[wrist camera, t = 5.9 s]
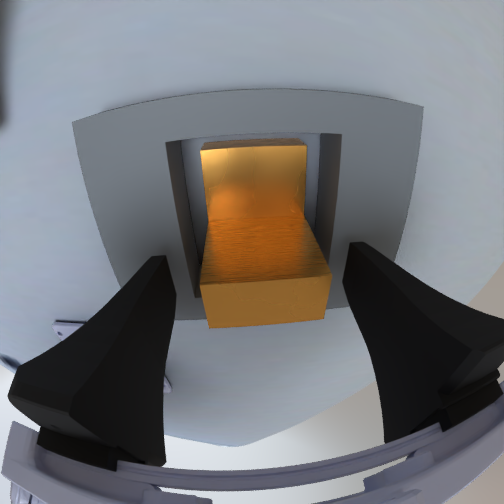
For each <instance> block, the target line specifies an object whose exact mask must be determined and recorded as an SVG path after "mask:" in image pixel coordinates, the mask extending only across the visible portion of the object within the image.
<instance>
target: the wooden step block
mask: <svg viewBox="0 0 504 504" xmlns="http://www.w3.org/2000/svg"><path fill="white" fill-rule="evenodd" d="M200 152H201V162H202V171H203V180H204V189H205V197H206V205H207V213H208V227H207V234H206V241H205V248H204V255H203V263H202V270H201V278H200V290H201V294H202V299H203V303H204V308H205V312H206V317H207V321H208V325H209V328H227V327H244V326H258V325H270V324H281V323H292V322H301V321H310V320H319V319H324V315H325V310H326V305H327V300H328V296H329V290H330V285H331V280H332V273H331V271H330V269H329V267H328V265H327V262H326V260H325V258H324V256H323V254H322V252H321V249H320V247H319V245H318V243H317V241H316V239H315V237H314V235H313V233H312V231H311V229H310V226H309V224H308V222H307V220H306V218H305V216H304V205H305V185H306V160H307V145H305V144H304V143H303V142H302V141H301V140H300V139H298V138H281V139H250V140H232V141H219V142H208V143H204V144H203V146H202V148H201V150H200Z"/></svg>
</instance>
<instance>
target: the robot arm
mask: <svg viewBox="0 0 504 504" xmlns="http://www.w3.org/2000/svg"><path fill="white" fill-rule="evenodd" d="M342 284H343V287H344V291H345V294H346V297H347V300H348V303H349V306H350V308H351V310H352V313H353V315H354V317H355V320H356V322H357V324H358V326H359V329H360V331H361V333H362V336H363V338H364V340H365V343H366V345H367V348H368V351H369V354H370V357H371V361H372V364H373V368H374V372H375V376H376V381H377V385H378V390H379V395H380V402H381V408H382V417H383V428H384V442H385V444H384V445H380V446H377V447H374V448H371V449H367V450H364V451H360V452H357V453H353V454H349V455H345V456H341V457H337V458H332V459H328V460H323V461H318V462H312V463H307V464H300V465H295V466H286V467H278V468H268V469H256V470H235V471H234V470H233V471H209V470H186V469H174V468H164V467H161V466H163V465H164V464H165V463H166V454H165V443H164V426H163V393H171V392H172V387H171V386H170V384H169V382H168V381H167V379H166V377H165V376H164V372H165V365H166V359H167V354H168V349H169V344H170V339H171V334H172V329H173V324H174V319H175V311H176V298H177V293H176V290H175V286H174V283H173V279H172V276H171V272H170V268H169V264H168V261H167V257H166V255H160V256H151V257H150V258H149V259H148V260H147V261H146V262H145V263H144V264H143V265H142V266H141V268H140V269H139V270H138V271H137V272H136V273H135V274H134V275H133V276H132V277H131V279H130V280H129V281H128V282H127V283H126V284H125V285H124V286H123V287H122V288H121V289H120V290H119V291H118V293H117V294H116V295H115V296H114V297H113V298H112V299H111V300H110V301H109V302H108V303H107V304H106V305H105V306H104V307H103V308H102V309H101V310H100V311H98V312H97V313H96V314H95V315H94V316H93V317H92V318H91V319H89V320H88V321H87V322H86V323H85V324H79V323H63V322H54V323H53V325H52V328H53V330H54V331H55V333H56V334H57V335H58V337H59V338H60V339H61V342H60V343H58V344H57V345H55V346H54V347H52V348H51V349H49V350H47V351H46V352H44V353H43V354H41V355H39V356H37V357H35V358H34V359H32V360H30V361H28V362H26V363H24V364H22V365H20V366H18V369H17V371H16V374H15V376H14V379H13V381H12V384H11V387H10V390H9V393H8V399H9V401H10V402H11V403H12V405H13V406H14V407H16V408H17V409H18V410H19V411H20V412H22V413H23V414H24V415H25V416H27V417H28V418H30V419H31V420H32V421H34V422H35V423H36V424H38V425H39V426H41V427H40V431H39V432H37V431H35V430H33V429H31V428H28V427H26V426H24V425H22V424H19V423H18V422H15V421H13V422H12V425H11V429H10V433H9V436H8V441H7V445H6V450H5V455H4V460H3V466H2V472H1V473H2V475H3V476H4V477H5V478H7V479H8V480H10V481H11V491H10V499H11V504H212V500H211V499H208V498H200V497H197V496H195V495H184V494H177V493H170V492H163V491H162V490H161V489H160V488H159V487H165V488H174V489H184V490H199V491H252V490H266V489H276V488H285V487H293V486H300V485H305V484H311V483H317V482H322V481H326V480H331V479H335V478H340V477H344V476H348V475H351V474H354V473H358V472H362V471H365V470H368V469H372V468H375V467H378V466H381V465H384V464H386V463H389V462H392V461H394V460H397V459H400V458H402V457H405V456H407V455H408V456H407V458H406V460H405V461H403V462H401V463H399V464H397V465H394V466H392V467H389V468H387V469H384V470H383V471H381V472H379V473H377V474H374V475H372V476H369V477H367V478H365V479H364V480H363V482H364V486H365V490H364V491H363V492H360V493H356V494H352V495H349V496H345V497H341V498H337V499H333V500H329V501H323V502H318V503H313V504H444V503H445V502H447V501H448V500H449V499H451V498H452V497H454V496H455V495H456V494H458V493H459V492H460V491H461V490H463V489H464V488H465V487H466V486H468V485H469V484H470V483H471V482H473V481H474V480H475V479H476V478H477V477H479V476H480V475H481V474H482V473H483V472H484V471H485V470H486V469H487V468H489V466H491V465H492V464H493V463H494V462H495V461H496V460H497V459H498V458H499V457H500V456H501V455H502V454H503V453H504V381H503V382H501V383H500V384H499V383H498V381H497V379H498V378H499V377H500V373H499V371H498V369H497V368H498V367H499V366H500V365H501V364H502V363H503V362H504V319H502V318H498V317H495V316H492V315H488V314H486V313H483V312H480V311H478V310H475V309H473V308H470V307H468V306H466V305H464V304H462V303H460V302H457V301H455V300H453V299H451V298H449V297H447V296H446V295H444V294H442V293H440V292H438V291H437V290H435V289H433V288H431V287H430V286H428V285H426V284H425V283H423V282H422V281H420V280H419V279H417V278H416V277H414V276H413V275H411V274H410V273H408V272H407V271H405V270H404V269H403V268H401V267H400V266H398V265H397V264H396V263H394V262H393V261H391V260H390V259H389V258H387V257H386V256H384V255H383V254H382V253H380V252H379V251H377V250H376V249H374V248H373V247H371V246H370V245H368V244H367V243H365V242H363V241H362V242H350V243H349V249H348V254H347V259H346V265H345V270H344V274H343V279H342ZM157 486H158V487H157Z"/></svg>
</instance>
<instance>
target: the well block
mask: <svg viewBox="0 0 504 504" xmlns="http://www.w3.org/2000/svg"><path fill="white" fill-rule="evenodd" d="M423 108H424V107H423V106H419V105H415V104H410V103H406V102H402V101H397V100H392V99H387V98H381V97H375V96H369V95H361V94H354V93H345V92H335V91H323V90H306V89H245V90H228V91H216V92H206V93H197V94H189V95H182V96H175V97H169V98H163V99H158V100H152V101H147V102H142V103H138V104H133V105H129V106H125V107H121V108H117V109H113V110H109V111H105V112H102V113H98V114H95V115H92V116H89V117H86V118H83V119H80V120H77V121H74V122H72V125H73V131H74V137H75V142H76V147H77V152H78V157H79V161H80V165H81V170H82V174H83V178H84V182H85V186H86V189H87V193H88V197H89V200H90V204H91V207H92V210H93V214H94V217H95V220H96V223H97V226H98V229H99V232H100V235H101V238H102V241H103V244H104V247H105V249H106V252H107V255H108V257H109V260H110V263H111V265H112V268H113V270H114V273H115V275H116V278H117V280H118V283H119V285H120V287H121V288H122V287H123V286H124V285H125V284H126V283H127V282H128V281H129V280H130V279H131V277H132V276H133V275H134V274H135V273H136V272H137V271H138V270H139V269H140V268H141V266H142V265H143V264H144V263H145V262H146V261H147V260H148V259H149V258H150V257H151V256H160V255H166V257H167V261H168V264H169V268H170V272H171V276H172V279H173V283H174V286H175V290H176V293H177V298H176V311H175V319H174V320H200V319H207V317H206V312H205V308H204V303H203V299H202V294H201V290H200V278H201V270H202V265H199V260H198V255H197V250H196V244H195V239H194V233H193V227H192V221H191V215H190V209H189V202H188V196H187V189H186V182H185V175H184V168H183V160H182V153H181V145H180V140H184V139H192V138H201V137H211V136H223V135H236V134H254V133H321V140H320V164H319V182H318V197H317V210H316V222H315V233H314V237H315V239H316V241H317V243H318V245H319V247H320V249H321V252H322V254H323V256H324V258H325V260H326V262H327V265H328V267H329V269H330V271H331V273H332V280H331V285H330V290H329V296H328V300H327V305H326V309H333V308H341V307H349V303H348V300H347V297H346V294H345V291H344V287H343V284H342V279H343V274H344V270H345V265H346V259H347V254H348V249H349V243H350V242H362V241H363V242H365V243H367V244H368V245H370V246H371V247H373V248H374V249H376V250H377V251H379V252H380V253H382V254H383V255H384V256H386V257H387V258H389V259H390V260H391V261H393V262H394V261H395V258H396V254H397V251H398V247H399V244H400V240H401V237H402V233H403V229H404V225H405V221H406V217H407V213H408V208H409V204H410V199H411V194H412V189H413V184H414V179H415V173H416V167H417V161H418V154H419V147H420V139H421V131H422V120H423Z"/></svg>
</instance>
